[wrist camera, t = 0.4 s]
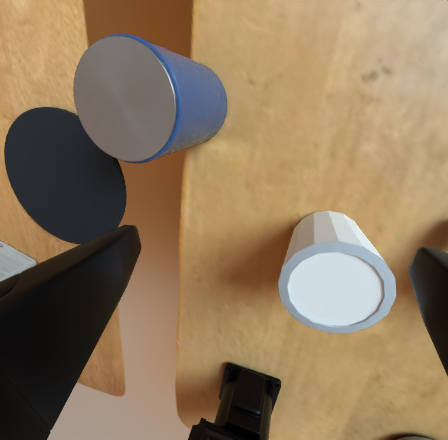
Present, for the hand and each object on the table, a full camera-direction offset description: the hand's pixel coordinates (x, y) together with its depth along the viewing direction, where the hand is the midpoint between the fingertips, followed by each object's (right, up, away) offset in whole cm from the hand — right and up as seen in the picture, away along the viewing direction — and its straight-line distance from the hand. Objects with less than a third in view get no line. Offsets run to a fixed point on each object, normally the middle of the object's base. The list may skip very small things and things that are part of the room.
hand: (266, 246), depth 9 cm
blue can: (-4, +10, +13) cm, 17 cm away
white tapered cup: (+7, -1, +14) cm, 16 cm away
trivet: (-18, +5, +19) cm, 26 cm away
